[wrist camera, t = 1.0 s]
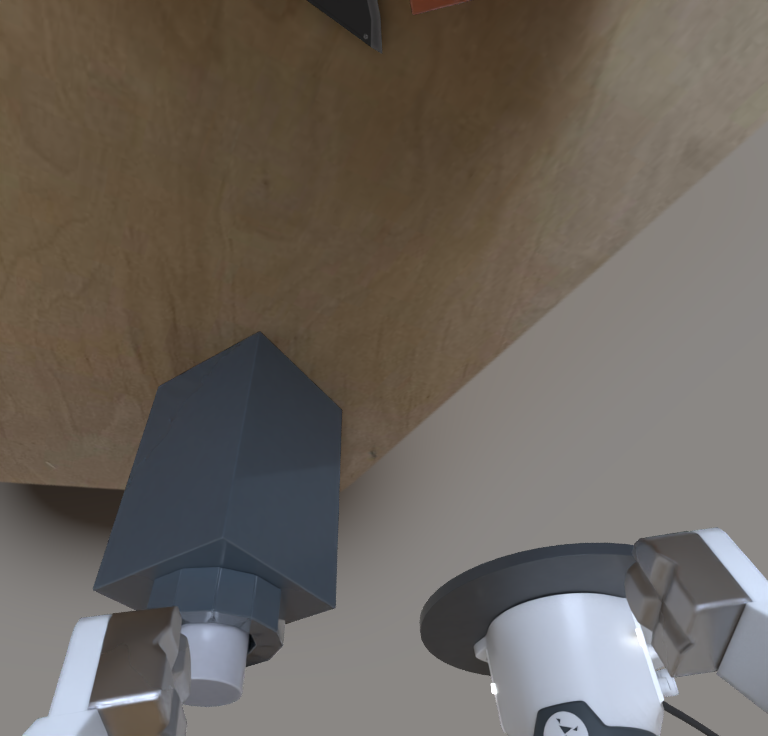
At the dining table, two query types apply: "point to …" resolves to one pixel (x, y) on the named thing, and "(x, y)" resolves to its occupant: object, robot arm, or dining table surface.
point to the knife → (355, 18)
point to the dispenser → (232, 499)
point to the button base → (431, 5)
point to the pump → (216, 663)
